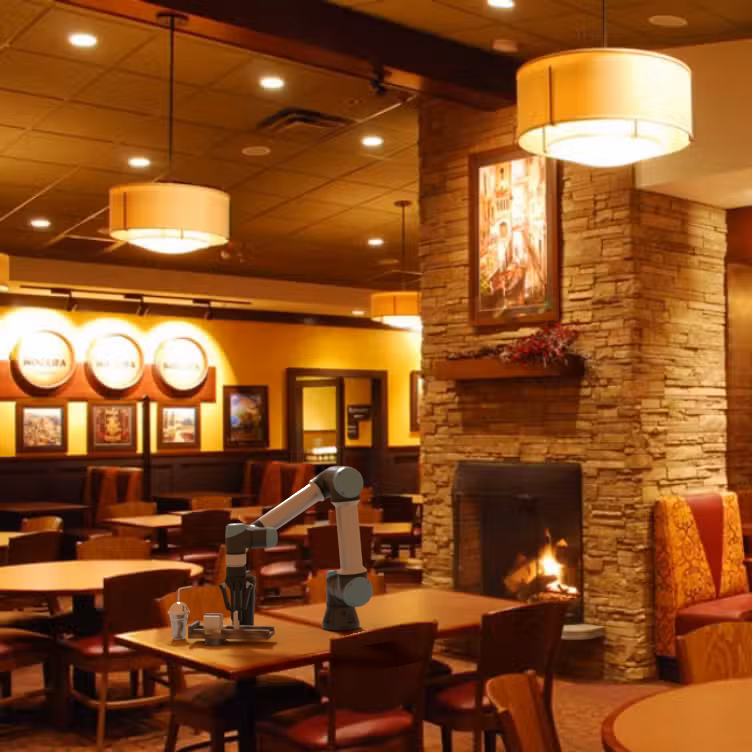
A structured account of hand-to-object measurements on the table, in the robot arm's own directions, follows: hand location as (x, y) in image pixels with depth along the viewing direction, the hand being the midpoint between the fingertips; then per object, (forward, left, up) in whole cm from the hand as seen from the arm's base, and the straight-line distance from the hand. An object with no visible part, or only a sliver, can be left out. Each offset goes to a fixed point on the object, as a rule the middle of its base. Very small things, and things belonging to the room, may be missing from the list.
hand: (236, 629), depth 415 cm
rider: (+9, 0, -1) cm, 9 cm away
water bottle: (+4, -27, -5) cm, 28 cm away
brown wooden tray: (+2, 0, -5) cm, 5 cm away
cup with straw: (+24, -7, -5) cm, 25 cm away
